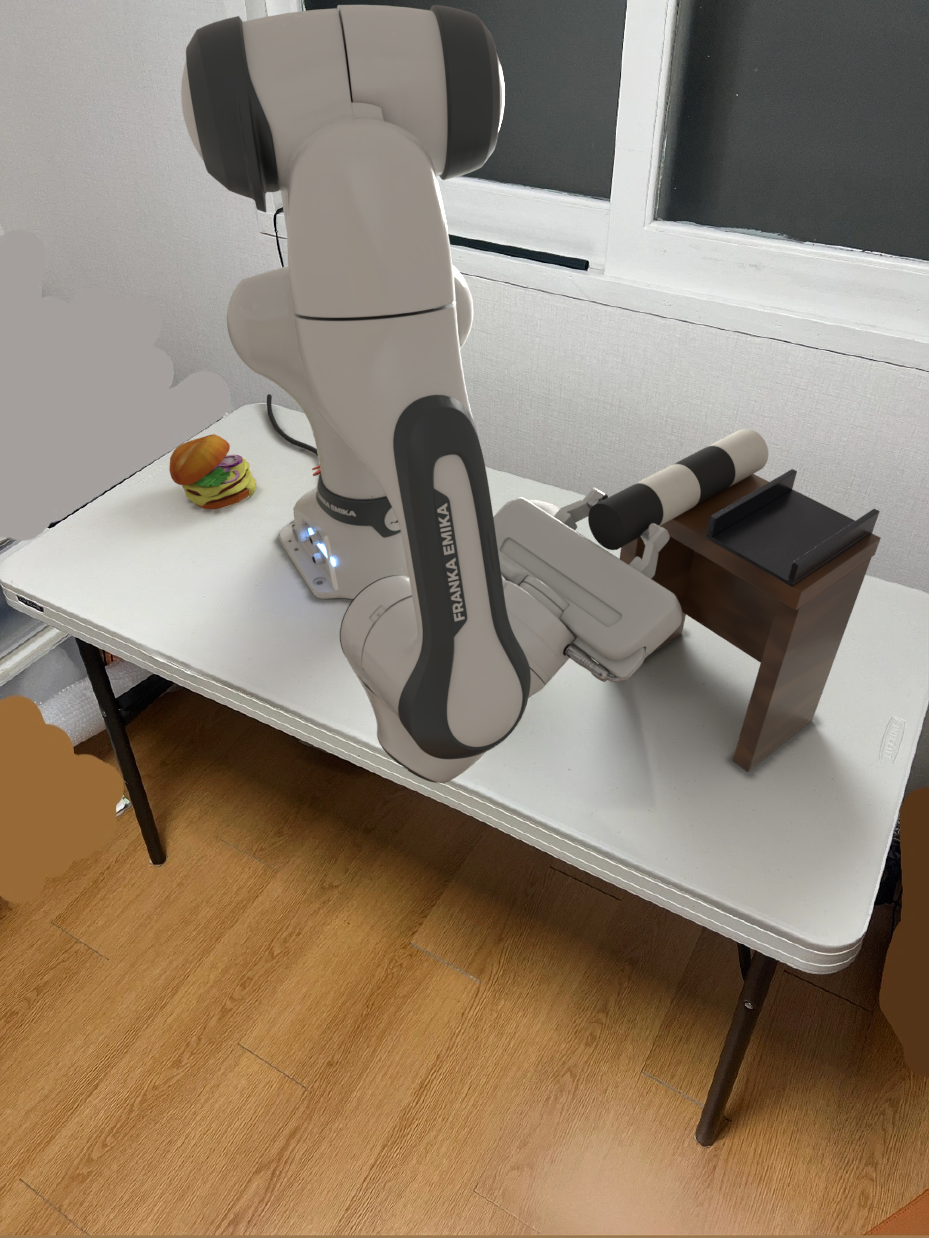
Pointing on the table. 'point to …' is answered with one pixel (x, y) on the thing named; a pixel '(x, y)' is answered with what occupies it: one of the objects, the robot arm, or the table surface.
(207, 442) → the cheeseburger
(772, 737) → the shelf
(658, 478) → the roll
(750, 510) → the tray
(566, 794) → the table surface
